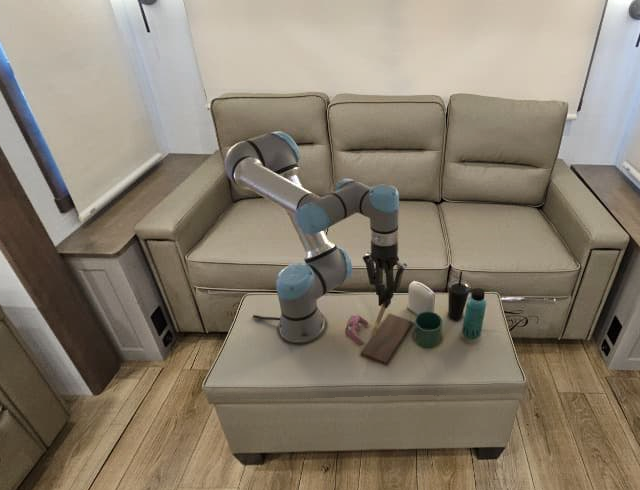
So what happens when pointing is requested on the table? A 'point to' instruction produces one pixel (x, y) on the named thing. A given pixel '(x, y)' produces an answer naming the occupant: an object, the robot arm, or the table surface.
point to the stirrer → (378, 319)
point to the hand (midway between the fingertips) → (384, 304)
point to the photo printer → (420, 298)
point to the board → (387, 339)
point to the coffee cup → (427, 329)
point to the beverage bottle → (474, 314)
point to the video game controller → (354, 327)
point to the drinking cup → (457, 297)
